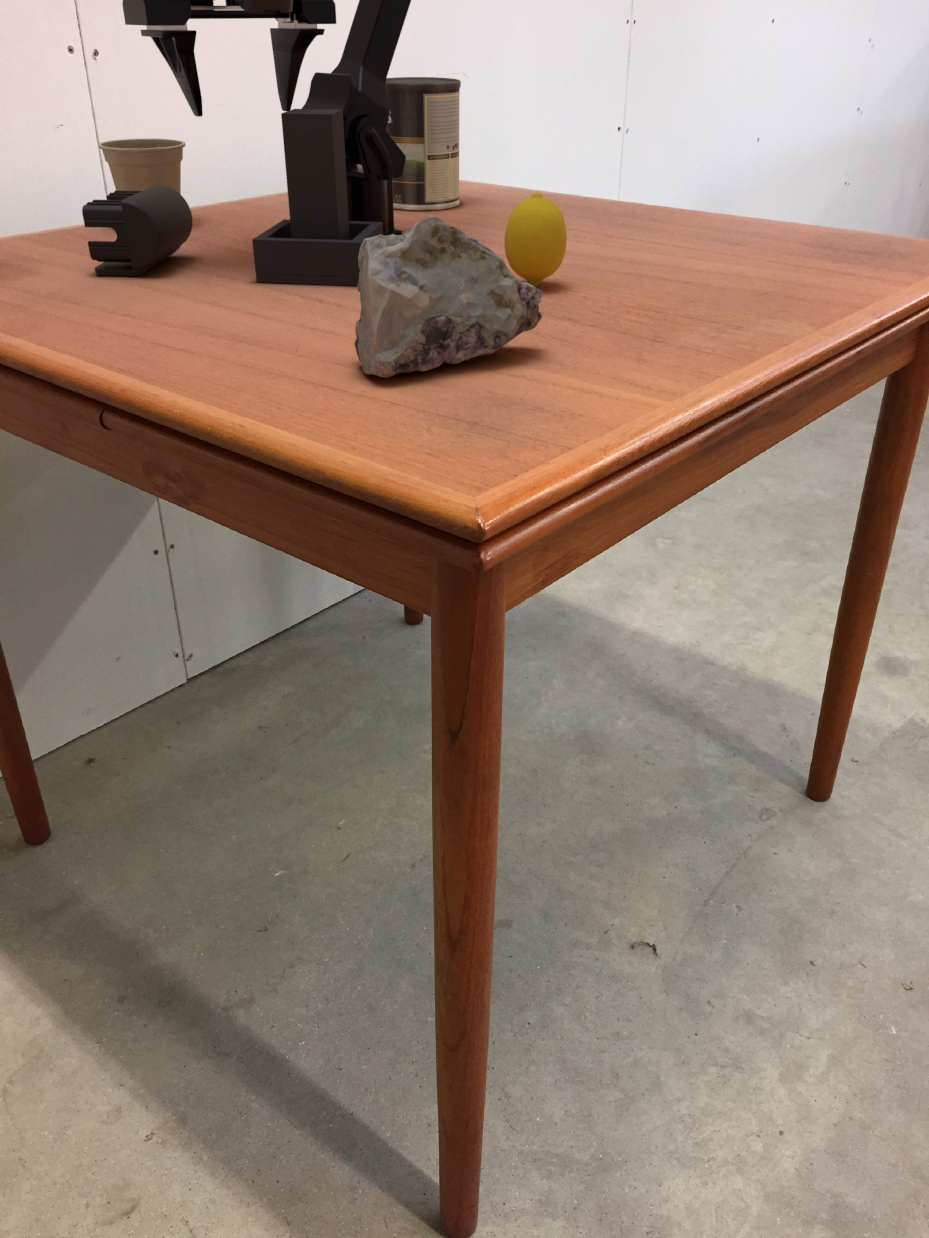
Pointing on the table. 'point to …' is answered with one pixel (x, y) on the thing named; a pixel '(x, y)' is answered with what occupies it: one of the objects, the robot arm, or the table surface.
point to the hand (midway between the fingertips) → (243, 113)
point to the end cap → (138, 229)
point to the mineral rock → (436, 300)
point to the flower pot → (144, 163)
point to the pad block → (316, 173)
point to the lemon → (535, 238)
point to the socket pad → (310, 256)
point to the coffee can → (425, 141)
